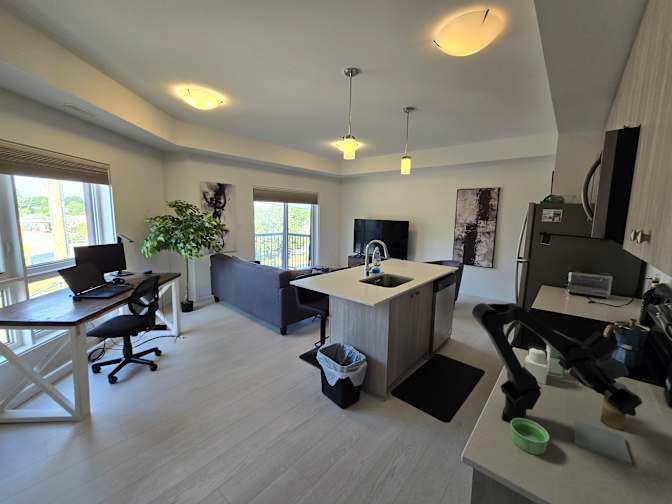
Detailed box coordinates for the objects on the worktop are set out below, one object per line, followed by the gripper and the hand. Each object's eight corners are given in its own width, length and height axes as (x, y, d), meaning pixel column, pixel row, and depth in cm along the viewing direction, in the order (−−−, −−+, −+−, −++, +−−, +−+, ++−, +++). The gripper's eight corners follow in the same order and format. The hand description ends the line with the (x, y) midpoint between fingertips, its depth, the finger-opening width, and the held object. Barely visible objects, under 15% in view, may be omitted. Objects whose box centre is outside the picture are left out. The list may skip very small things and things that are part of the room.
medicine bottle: (525, 370, 116) (528, 342, 114) (546, 376, 111) (549, 348, 110) (523, 377, 110) (526, 349, 109) (545, 384, 106) (549, 355, 104)
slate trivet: (631, 466, 72) (631, 462, 72) (575, 444, 78) (575, 441, 78) (622, 439, 80) (623, 436, 80) (572, 421, 87) (573, 418, 87)
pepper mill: (624, 432, 83) (631, 392, 81) (601, 424, 86) (607, 385, 84) (621, 422, 87) (627, 383, 85) (599, 415, 90) (605, 377, 88)
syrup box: (546, 375, 112) (550, 341, 110) (543, 368, 118) (547, 335, 116) (564, 379, 110) (568, 344, 108) (560, 371, 115) (565, 338, 113)
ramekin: (540, 463, 72) (542, 447, 72) (503, 440, 80) (504, 426, 79) (552, 446, 78) (554, 432, 77) (516, 426, 85) (518, 413, 84)
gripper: (640, 368, 74) (677, 409, 75) (583, 338, 93) (613, 370, 94) (605, 394, 76) (642, 434, 77) (555, 359, 94) (585, 391, 95)
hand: (619, 404), depth 85 cm, fingers open, 9 cm apart
